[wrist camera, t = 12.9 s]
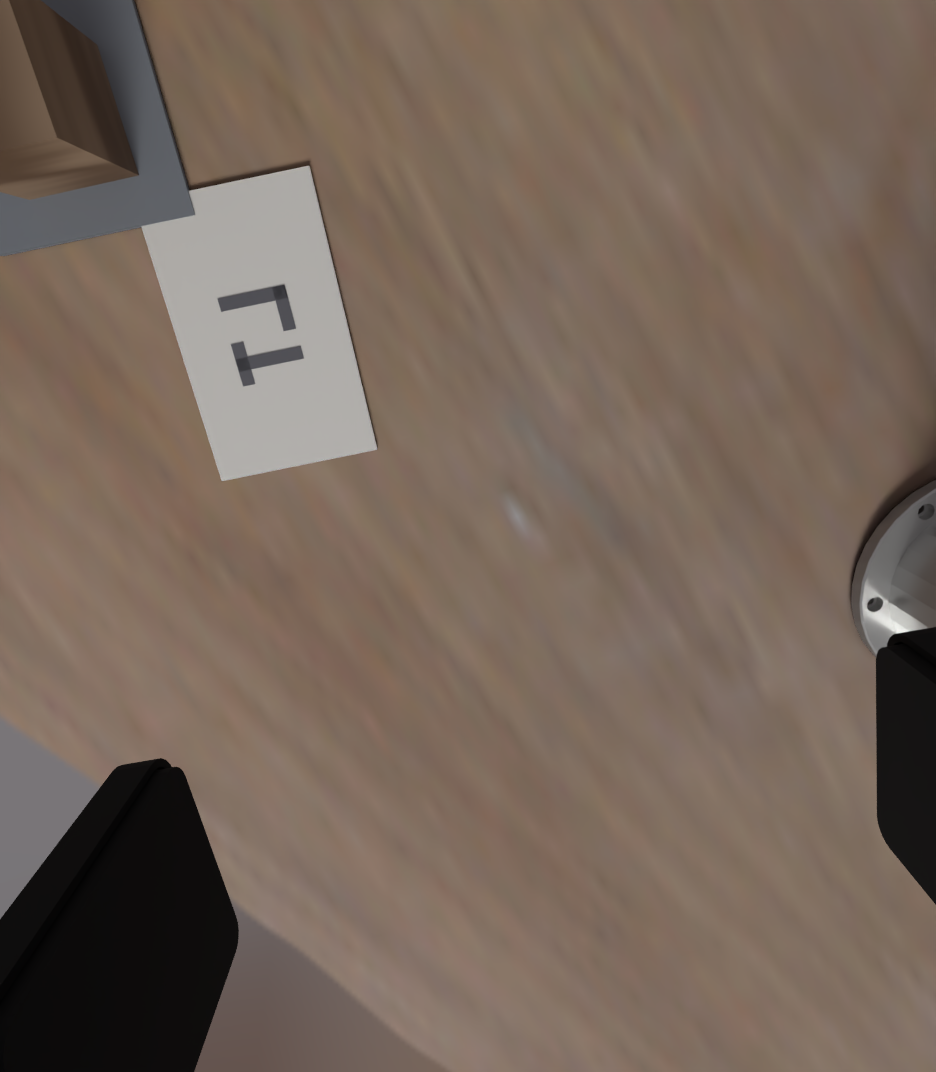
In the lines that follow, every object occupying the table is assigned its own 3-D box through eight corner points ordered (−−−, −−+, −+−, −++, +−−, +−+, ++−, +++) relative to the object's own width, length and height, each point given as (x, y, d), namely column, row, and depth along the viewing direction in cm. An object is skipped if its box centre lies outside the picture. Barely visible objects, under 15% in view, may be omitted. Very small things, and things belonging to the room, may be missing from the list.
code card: (309, 166, 31) (308, 165, 31) (377, 448, 35) (377, 449, 35) (135, 202, 31) (133, 202, 31) (222, 480, 35) (221, 481, 35)
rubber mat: (128, -19, 29) (125, -23, 28) (196, 215, 31) (194, 214, 31) (-84, 26, 29) (-89, 23, 28) (3, 256, 32) (-1, 255, 31)
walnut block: (97, 44, 29) (-3, -35, 22) (138, 175, 31) (56, 137, 24) (-19, 71, 29) (-153, 0, 22) (29, 199, 31) (-83, 169, 24)
